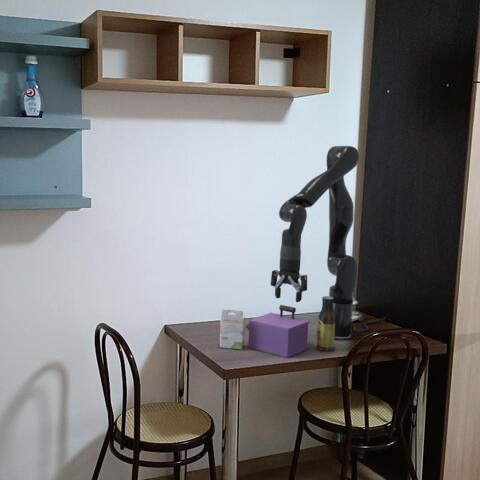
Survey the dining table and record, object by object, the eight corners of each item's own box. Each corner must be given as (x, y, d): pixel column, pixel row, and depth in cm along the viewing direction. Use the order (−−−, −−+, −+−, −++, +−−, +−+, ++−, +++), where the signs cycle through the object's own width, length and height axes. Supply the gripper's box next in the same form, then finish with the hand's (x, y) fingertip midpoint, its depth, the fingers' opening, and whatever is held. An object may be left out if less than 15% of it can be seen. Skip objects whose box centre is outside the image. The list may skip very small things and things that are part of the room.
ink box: (244, 346, 241) (245, 307, 239) (242, 350, 236) (243, 310, 234) (221, 343, 243) (222, 305, 241) (219, 347, 239) (220, 308, 237)
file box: (268, 339, 250) (269, 315, 249) (306, 349, 239) (308, 323, 238) (248, 347, 240) (249, 321, 238) (287, 357, 229) (288, 330, 227)
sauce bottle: (317, 345, 244) (320, 294, 241) (334, 347, 242) (337, 296, 239) (315, 350, 238) (318, 297, 235) (332, 352, 236) (335, 299, 233)
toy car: (344, 293, 290) (368, 298, 282) (343, 314, 292) (366, 319, 283) (321, 299, 278) (345, 304, 270) (320, 321, 280) (344, 326, 271)
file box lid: (271, 314, 249) (271, 301, 249) (309, 323, 239) (310, 309, 238) (249, 321, 238) (249, 308, 238) (288, 330, 227) (289, 316, 227)
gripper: (312, 258, 237) (309, 301, 239) (279, 253, 247) (276, 295, 249) (302, 260, 232) (299, 304, 234) (268, 255, 241) (266, 298, 243)
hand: (287, 299), depth 241 cm, fingers open, 8 cm apart
